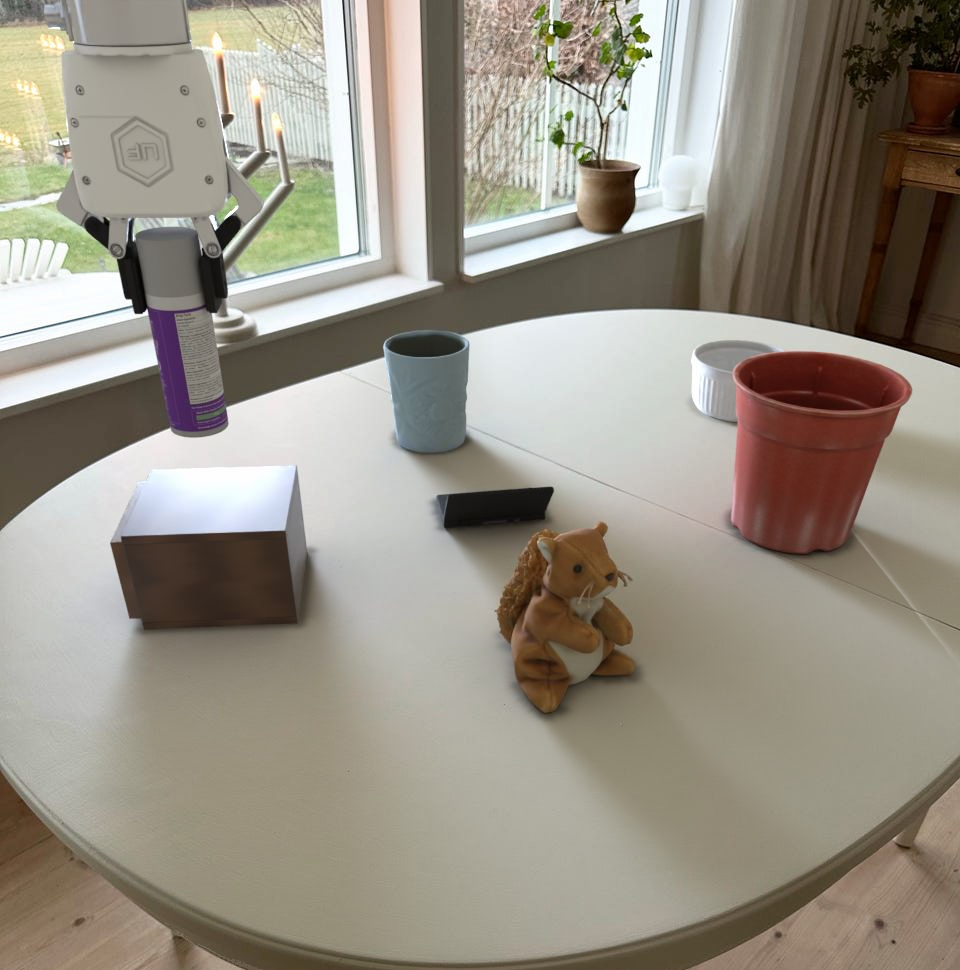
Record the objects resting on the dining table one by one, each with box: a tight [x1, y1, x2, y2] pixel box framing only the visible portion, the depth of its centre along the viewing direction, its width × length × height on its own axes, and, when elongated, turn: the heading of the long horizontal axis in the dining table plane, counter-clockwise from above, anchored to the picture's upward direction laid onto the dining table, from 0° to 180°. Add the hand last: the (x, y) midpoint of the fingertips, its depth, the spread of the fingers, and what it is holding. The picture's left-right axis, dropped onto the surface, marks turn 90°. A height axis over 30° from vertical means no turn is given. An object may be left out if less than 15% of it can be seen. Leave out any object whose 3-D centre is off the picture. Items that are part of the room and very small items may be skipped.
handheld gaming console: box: [436, 486, 555, 529], centre depth 100 cm, size 12×7×10 cm
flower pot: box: [730, 350, 913, 555], centre depth 96 cm, size 16×16×16 cm
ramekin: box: [691, 339, 787, 423], centre depth 125 cm, size 13×13×7 cm
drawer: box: [109, 481, 146, 620], centre depth 87 cm, size 14×11×8 cm
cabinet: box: [121, 464, 308, 631], centre depth 88 cm, size 14×13×10 cm
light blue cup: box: [382, 329, 470, 454], centre depth 115 cm, size 10×10×12 cm
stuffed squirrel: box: [494, 520, 636, 714], centre depth 78 cm, size 10×14×13 cm
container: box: [134, 226, 230, 439], centre depth 74 cm, size 5×5×15 cm
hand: (179, 305), depth 73 cm, fingers closed on container, 4 cm apart
